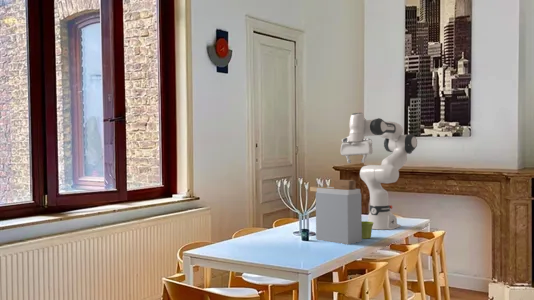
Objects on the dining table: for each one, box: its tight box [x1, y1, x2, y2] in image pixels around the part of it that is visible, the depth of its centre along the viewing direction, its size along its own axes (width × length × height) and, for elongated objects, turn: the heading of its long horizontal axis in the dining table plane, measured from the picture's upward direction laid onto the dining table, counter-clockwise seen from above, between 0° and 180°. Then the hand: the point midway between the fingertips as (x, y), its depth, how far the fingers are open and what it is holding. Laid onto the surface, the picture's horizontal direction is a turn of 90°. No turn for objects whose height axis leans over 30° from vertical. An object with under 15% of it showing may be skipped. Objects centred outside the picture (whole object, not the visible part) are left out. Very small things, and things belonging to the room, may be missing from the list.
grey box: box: [315, 186, 363, 245], centre depth 301 cm, size 12×22×28 cm, turn 44°
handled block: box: [309, 179, 357, 193], centre depth 305 cm, size 6×29×7 cm, turn 44°
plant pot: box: [362, 220, 374, 240], centre depth 308 cm, size 9×9×9 cm
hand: (356, 162), depth 325 cm, fingers open, 8 cm apart
